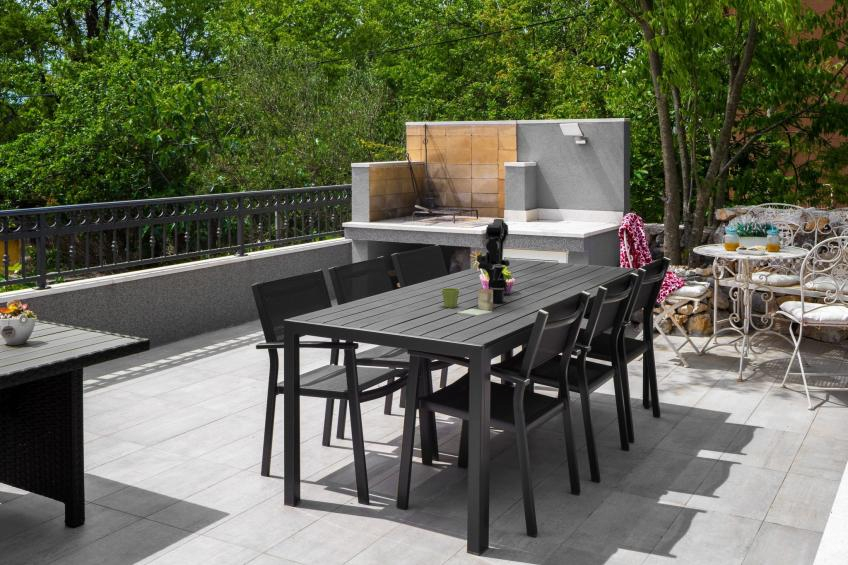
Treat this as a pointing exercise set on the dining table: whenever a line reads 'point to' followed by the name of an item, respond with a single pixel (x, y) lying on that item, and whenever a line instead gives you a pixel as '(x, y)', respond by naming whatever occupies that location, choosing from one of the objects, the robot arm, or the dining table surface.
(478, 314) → the sage mat
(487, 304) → the birch block
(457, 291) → the plant pot
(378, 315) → the dining table surface
